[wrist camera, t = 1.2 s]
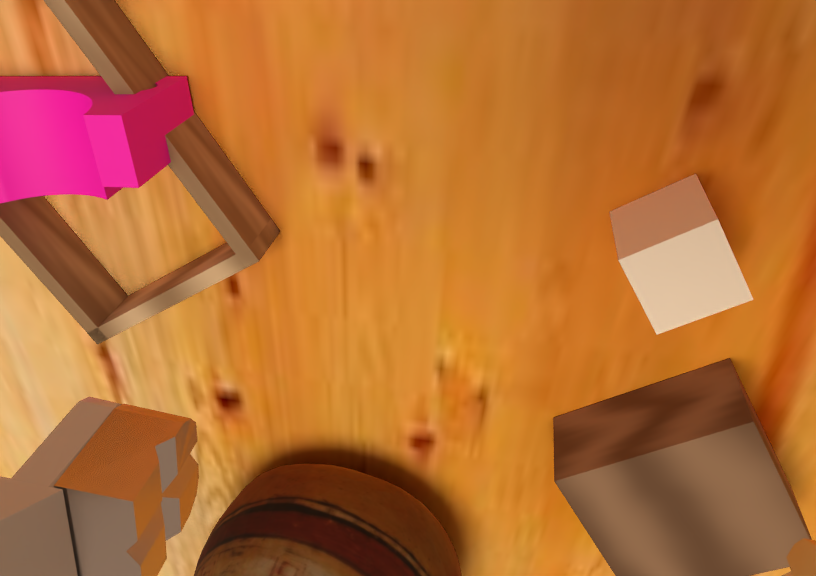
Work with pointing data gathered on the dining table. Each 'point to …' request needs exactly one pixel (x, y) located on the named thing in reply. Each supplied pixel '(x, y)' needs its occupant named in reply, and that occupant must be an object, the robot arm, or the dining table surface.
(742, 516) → the pedestal
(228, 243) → the wooden rectangular frame
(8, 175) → the toy block
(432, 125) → the dining table surface
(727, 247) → the white block
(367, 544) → the ceramic pitcher
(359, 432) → the dining table surface
